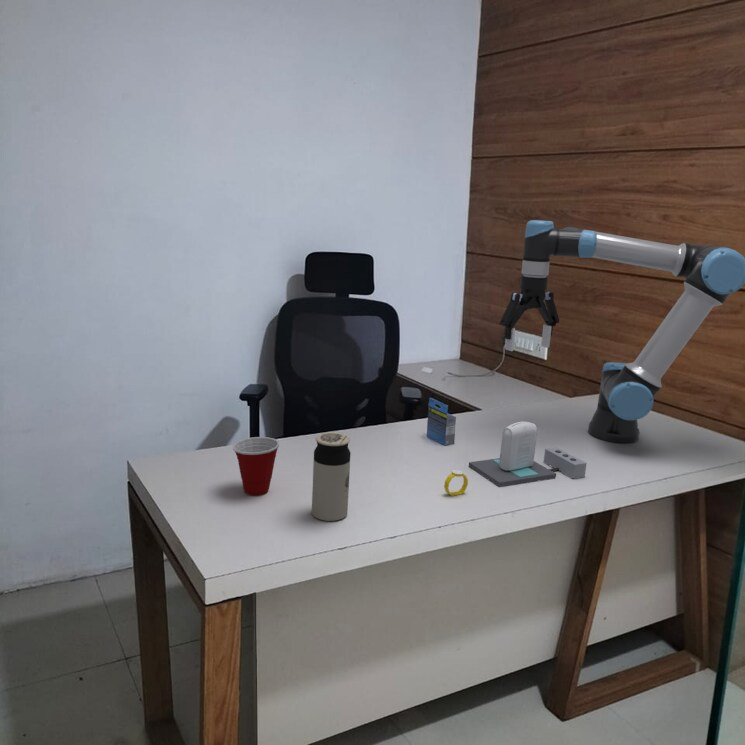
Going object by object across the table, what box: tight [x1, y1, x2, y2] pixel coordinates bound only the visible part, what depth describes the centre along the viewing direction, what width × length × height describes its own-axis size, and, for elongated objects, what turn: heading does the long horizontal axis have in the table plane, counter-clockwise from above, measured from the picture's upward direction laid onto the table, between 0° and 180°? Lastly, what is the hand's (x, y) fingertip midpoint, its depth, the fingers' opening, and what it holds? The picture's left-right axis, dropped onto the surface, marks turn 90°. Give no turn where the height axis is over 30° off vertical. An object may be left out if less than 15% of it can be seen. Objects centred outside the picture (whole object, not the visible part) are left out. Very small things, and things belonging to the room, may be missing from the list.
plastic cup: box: [232, 436, 280, 497], centre depth 166 cm, size 11×11×12 cm
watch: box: [443, 469, 469, 497], centre depth 172 cm, size 6×3×6 cm, turn 118°
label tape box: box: [426, 397, 457, 446], centre depth 207 cm, size 9×4×12 cm, turn 34°
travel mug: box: [311, 431, 351, 522], centre depth 156 cm, size 8×8×18 cm
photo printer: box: [499, 421, 538, 471], centre depth 187 cm, size 10×4×12 cm, turn 124°
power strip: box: [543, 447, 587, 479], centre depth 191 cm, size 9×12×4 cm
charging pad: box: [468, 457, 557, 488], centre depth 188 cm, size 18×14×1 cm
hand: (527, 348), depth 208 cm, fingers open, 13 cm apart
